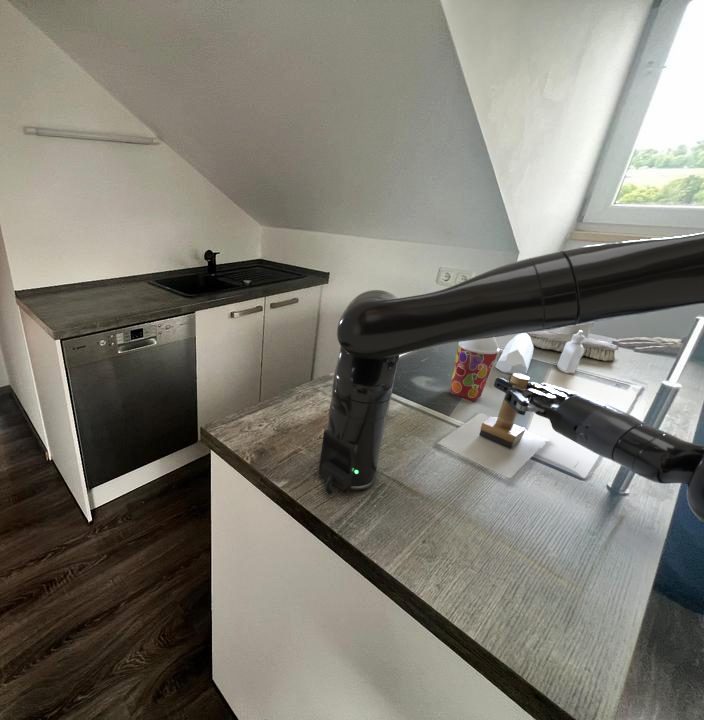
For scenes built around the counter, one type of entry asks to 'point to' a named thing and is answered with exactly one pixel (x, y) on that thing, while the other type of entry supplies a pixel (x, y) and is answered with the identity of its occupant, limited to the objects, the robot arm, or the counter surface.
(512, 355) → the crystal
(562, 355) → the eye dropper bottle
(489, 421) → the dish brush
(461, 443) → the tile
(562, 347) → the shoe brush
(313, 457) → the counter surface
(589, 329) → the travel mug
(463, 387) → the smoothie
